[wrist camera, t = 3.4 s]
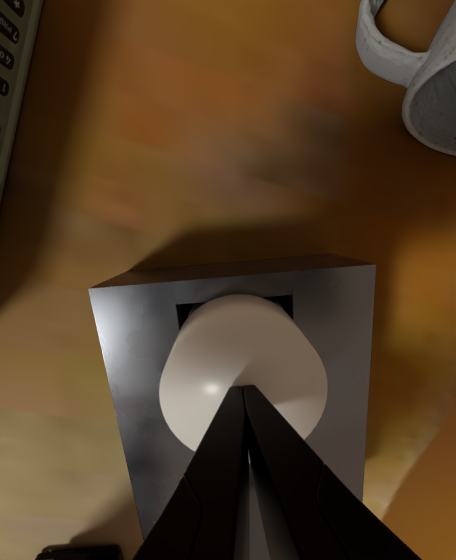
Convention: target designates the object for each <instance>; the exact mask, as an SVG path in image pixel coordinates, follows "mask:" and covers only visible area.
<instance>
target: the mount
mask: <svg viewBox="0 0 456 560" xmlns="http://www.w3.org/2000/svg"><path fill="white" fill-rule="evenodd" d="M375 277H376V264H372V263H368V262H364V261H360V260H356V259H351V258H347V257H343V256H339V255H335V254H326V255H314V256H302V257H290V258H278V259H266V260H254V261H243V262H231V263H219V264H207V265H195V266H183V267H171V268H160V269H148V270H136V271H126V272H124V273H122V274H120V275H118V276H115V277H113V278H111V279H109V280H107V281H104V282H102V283H100V284H98V285H95V286H93V287H91V288H89V289H88V290H89V295H90V299H91V304H92V308H93V313H94V317H95V322H96V326H97V331H98V335H99V340H100V344H101V349H102V354H103V358H104V363H105V367H106V372H107V376H108V381H109V385H110V390H111V394H112V399H113V403H114V408H115V412H116V417H117V421H118V426H119V431H120V435H121V440H122V444H123V449H124V453H125V458H126V462H127V467H128V471H129V476H130V480H131V485H132V489H133V494H134V498H135V503H136V508H137V512H138V517H139V521H140V526H141V530H142V535H143V539H144V540H145V539H146V537H147V535H148V534H149V532H150V531H151V529H152V528H153V526H154V524H155V523H156V521H157V520H158V518H159V517H160V515H161V513H162V511H163V510H164V508H165V506H166V504H167V503H168V501H169V499H170V497H171V496H172V494H173V492H174V490H175V488H176V486H177V485H178V483H179V481H180V479H181V477H182V476H183V474H184V472H185V470H186V468H187V466H188V464H189V462H190V460H191V459H192V457H193V455H194V453H195V451H193V450H191V449H190V448H189V447H187V446H186V445H185V444H183V443H182V442H181V441H180V440H179V439H178V438H177V437H176V436H175V434H174V433H173V432H172V431H171V429H170V428H169V426H168V424H167V422H166V420H165V418H164V416H163V413H162V409H161V405H160V398H159V387H160V380H161V376H162V372H163V370H164V367H165V364H166V362H167V360H168V357H169V355H170V353H171V350H172V348H173V345H174V343H175V341H176V338H177V336H178V333H179V331H180V329H181V327H182V326H183V318H182V310H181V304H188V303H200V302H209V301H211V300H214V299H216V298H219V297H223V296H227V295H235V294H245V295H253V296H257V297H271V296H282V295H287V314H288V315H289V316H290V317H291V319H292V320H293V321H294V323H295V324H296V325H297V327H298V328H299V329H300V331H301V332H302V333H303V335H304V336H305V337H306V339H307V340H308V341H309V343H310V344H311V345H312V346H313V348H314V349H315V350H316V352H317V354H318V355H319V357H320V359H321V361H322V363H323V366H324V368H325V372H326V376H327V385H328V392H327V400H326V404H325V408H324V411H323V413H322V416H321V418H320V420H319V421H318V423H317V425H316V426H315V428H314V429H313V430H312V432H311V433H310V434H309V435H308V436H307V437H306V438H305V439H304V440H305V441H306V443H307V444H308V445H309V446H310V447H311V448H312V449H313V450H314V451H315V453H316V454H317V455H318V456H319V457H320V458H321V459H322V460H323V462H324V464H326V465H327V466H328V467H329V468H330V469H331V470H332V471H333V473H334V474H335V475H336V476H337V477H338V478H339V479H340V480H341V481H342V482H343V483H344V485H345V486H346V487H347V488H348V489H349V490H350V491H351V492H352V493H353V494H354V495H355V496H356V497H357V498H358V499H359V500H360V501H361V502H362V499H363V482H364V465H365V448H366V431H367V414H368V397H369V380H370V363H371V345H372V328H373V311H374V294H375ZM249 466H250V463H249ZM250 483H254V481H253V477H252V472H251V467H250Z"/></svg>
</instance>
